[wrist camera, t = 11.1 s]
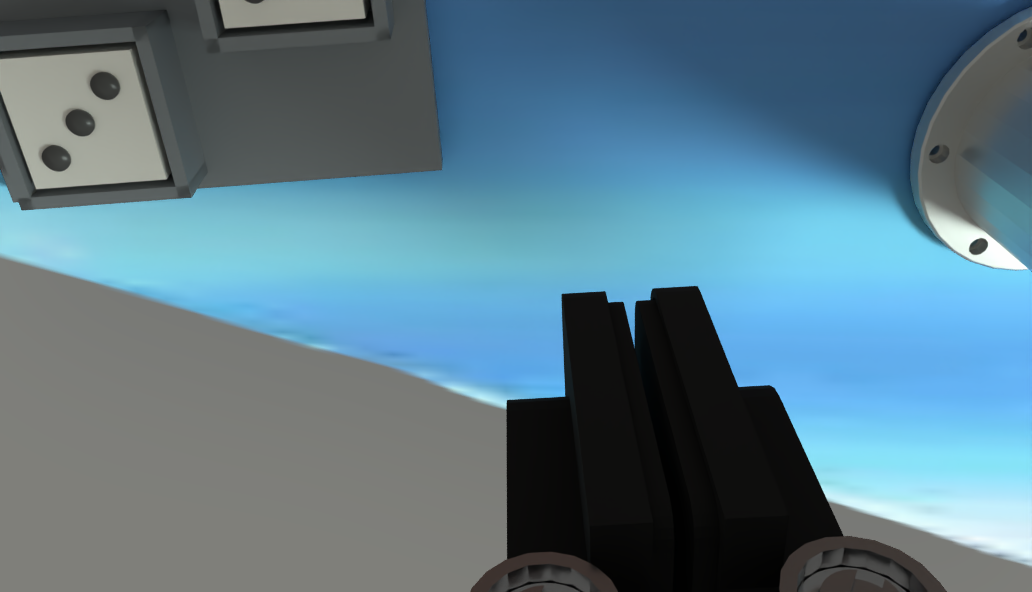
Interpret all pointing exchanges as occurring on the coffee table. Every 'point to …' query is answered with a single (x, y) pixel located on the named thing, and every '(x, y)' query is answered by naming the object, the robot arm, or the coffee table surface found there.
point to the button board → (247, 94)
